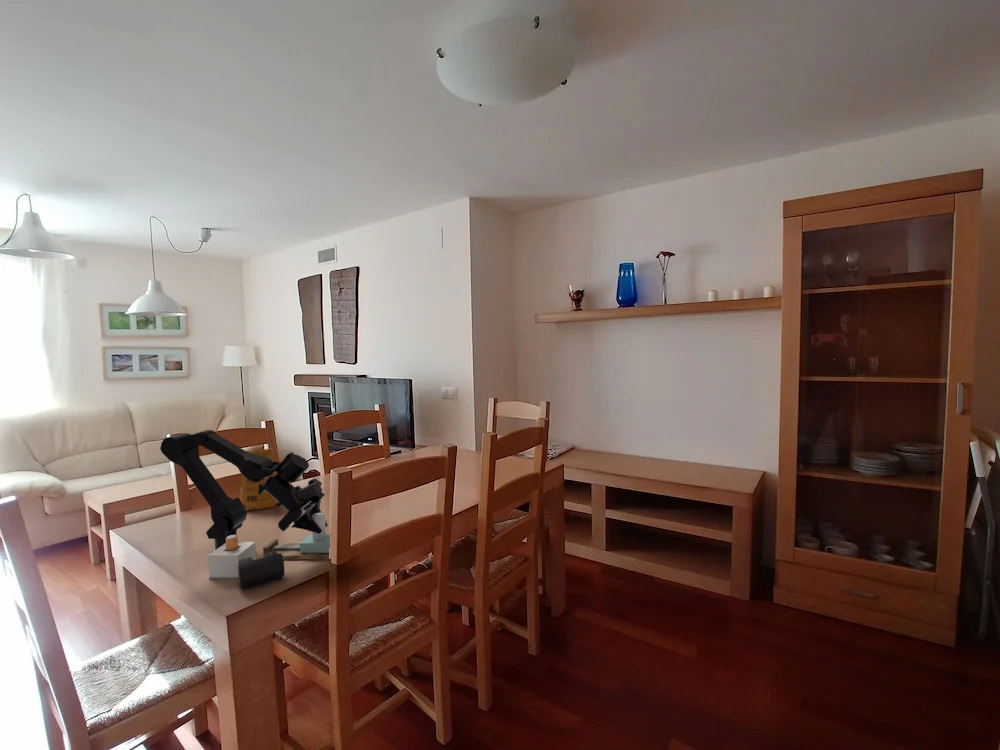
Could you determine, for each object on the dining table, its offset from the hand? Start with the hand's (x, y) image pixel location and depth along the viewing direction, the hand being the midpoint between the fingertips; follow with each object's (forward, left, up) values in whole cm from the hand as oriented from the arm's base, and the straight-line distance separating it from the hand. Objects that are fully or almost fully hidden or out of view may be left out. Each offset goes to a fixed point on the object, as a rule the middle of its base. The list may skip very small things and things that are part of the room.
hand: (323, 529), depth 134 cm
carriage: (-1, -1, -6) cm, 6 cm away
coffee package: (-57, +3, -7) cm, 58 cm away
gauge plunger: (-9, -22, -1) cm, 23 cm away
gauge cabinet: (-9, -22, -7) cm, 24 cm away
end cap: (+4, -19, -7) cm, 21 cm away
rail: (-4, -4, -7) cm, 9 cm away
